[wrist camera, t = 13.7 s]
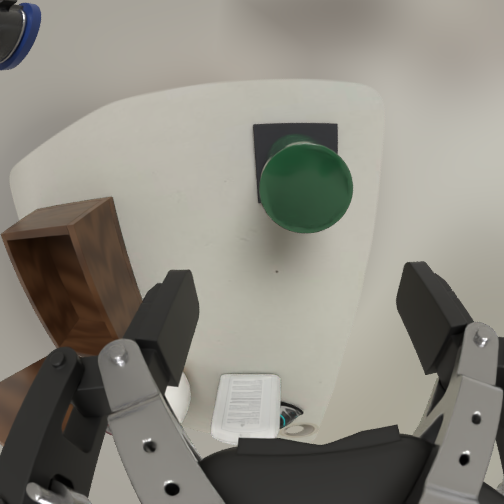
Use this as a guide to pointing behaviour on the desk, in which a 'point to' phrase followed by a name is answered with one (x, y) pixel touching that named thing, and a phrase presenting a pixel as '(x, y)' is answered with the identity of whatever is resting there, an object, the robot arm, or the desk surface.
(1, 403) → the lid
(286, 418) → the computer mouse
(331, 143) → the mat
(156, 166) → the desk surface
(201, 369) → the desk surface
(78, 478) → the robot arm
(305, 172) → the green pot
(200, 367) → the desk surface
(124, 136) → the desk surface
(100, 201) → the wooden box
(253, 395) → the photo printer
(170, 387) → the cup
